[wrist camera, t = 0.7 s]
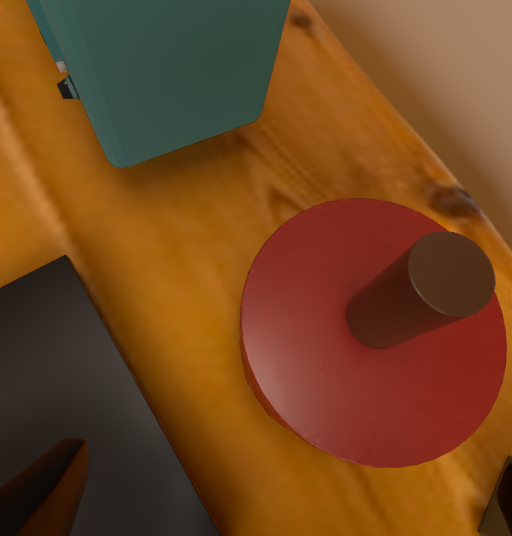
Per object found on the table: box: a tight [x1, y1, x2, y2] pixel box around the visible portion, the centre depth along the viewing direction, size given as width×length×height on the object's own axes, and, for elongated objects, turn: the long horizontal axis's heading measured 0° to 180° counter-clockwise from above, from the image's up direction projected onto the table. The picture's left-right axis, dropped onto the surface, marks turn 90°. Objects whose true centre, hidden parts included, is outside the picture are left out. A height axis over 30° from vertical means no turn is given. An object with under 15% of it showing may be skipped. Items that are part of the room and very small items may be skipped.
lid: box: [240, 198, 507, 468], centre depth 15 cm, size 11×11×7 cm
